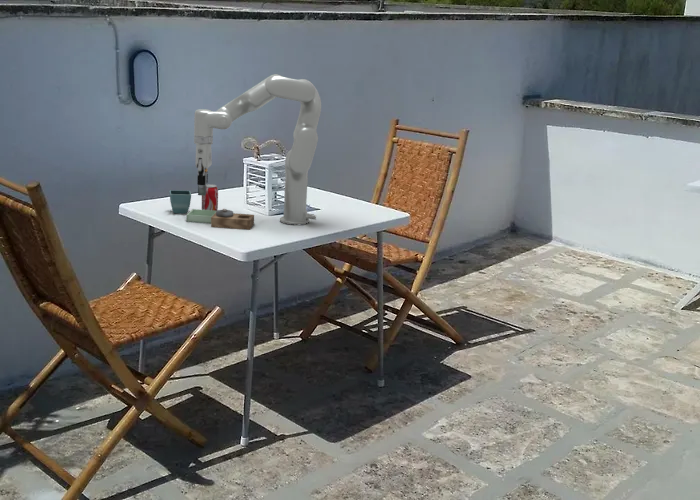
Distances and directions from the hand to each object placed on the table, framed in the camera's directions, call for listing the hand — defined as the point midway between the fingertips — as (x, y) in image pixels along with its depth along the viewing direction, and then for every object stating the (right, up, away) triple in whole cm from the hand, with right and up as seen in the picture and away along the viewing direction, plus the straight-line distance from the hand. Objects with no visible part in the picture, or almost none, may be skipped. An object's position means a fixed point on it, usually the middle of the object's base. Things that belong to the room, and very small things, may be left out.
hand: (202, 183), depth 333 cm
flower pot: (-12, -12, +14) cm, 22 cm away
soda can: (0, -11, +18) cm, 21 cm away
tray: (-1, -15, +4) cm, 15 cm away
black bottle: (0, -5, +1) cm, 5 cm away
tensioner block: (+13, -17, -2) cm, 22 cm away
